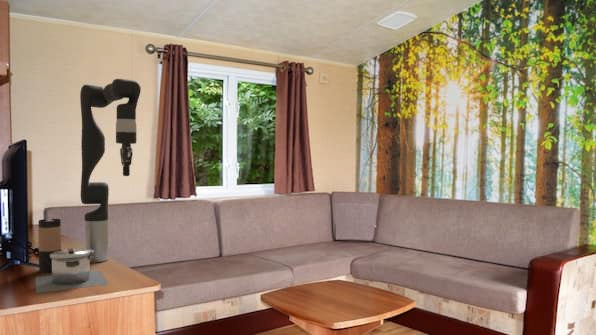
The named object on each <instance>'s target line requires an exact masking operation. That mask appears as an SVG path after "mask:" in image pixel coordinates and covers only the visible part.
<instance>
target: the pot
mask: <svg viewBox="0 0 596 335" xmlns="http://www.w3.org/2000/svg"><path fill="white" fill-rule="evenodd" d="M90 259H93V255H91V254H90V255H87V256H83V257H79V258H72V259H52V273H51V275H52V283H53V284H55V285H74V284H80V283H83V282H86V281H88V280H89V279H90V271H91V270H90V263H91V262H90Z"/></svg>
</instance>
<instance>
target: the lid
mask: <svg viewBox="0 0 596 335" xmlns="http://www.w3.org/2000/svg"><path fill="white" fill-rule="evenodd" d="M90 254H91V255H94V254H95V253H94V251H93V250H90V249H85V248H73V247H72V248H68V249H61V251H56V252H53V253H51V254H50V258H52V259H72V258H79V257H83V256H87V255H90Z"/></svg>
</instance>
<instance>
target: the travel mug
mask: <svg viewBox="0 0 596 335" xmlns="http://www.w3.org/2000/svg"><path fill="white" fill-rule="evenodd" d="M61 222H62V220H61V219H60V218H52V219H50V220H48V219H45V218H44V219H39V220H38V268H39V270H38V271H39V273H41V274H52V258H50V254H51V253H53V252H56V251H61V250H62V231H61V230H62V229H61V228H62V224H61Z"/></svg>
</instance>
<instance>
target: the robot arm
mask: <svg viewBox="0 0 596 335" xmlns="http://www.w3.org/2000/svg"><path fill="white" fill-rule="evenodd" d="M141 90H142V87H141V84H140V83H139V82H138V81H137V80H133V79H124V78H116V79H113V81H112V82H111V83H108V84H107V85H105V86H97V85H92V84H83V85H82V87H81V89H80V94H79V95H80V96H79V99H80V102H79V103H80V111H81V112H80V113H81V139H80V140H81V144H80V145H81V146H80V147H81V177H80V178H81V179H80V201H81V204H83V205H99V207H97V208H95V209H94V210H92V211H88V212H86V213H85V214H84V249H90V250H93V251H94V253H95V254H94V255H93V259H90V263H101V262H105V261H108V260H109V191H110V189H109V185H108V183H107V182H105V181H104V182H101V181H99V182H97V181H96V182H95V181H93V182H90V178H91V175H92V173H93V172H94V169H95V168H96V167H97V165H98V163H100V161H101V159H102V158H103V157H104V154H105V151H106V138H105V137H106V136H105V134H104V132H103V131H102V129H101V128H100V125H99V124H98V123H97V121H96V119H95V118H94V115H93V114H94V113H93V110H92V108H97V109H98V108H99V109H103V108H106V107H108V106H109V105H110V104H112V103H113V102H116V101H119V100H123V99H128V101H127V102H125V103H120V104H117V105H116V121H115V122H116V123H115V143H116V144H121V148H119V156H120V162H121V165H122V176H123V177H129V176H130V172H131V170H130V169H131V168H130V167H131V165H132V160H133V148H132V144H133V145H134V144H135V145H136V144H137V116H136V115H137V106H138V101H139V98H140V95H141Z"/></svg>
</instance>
